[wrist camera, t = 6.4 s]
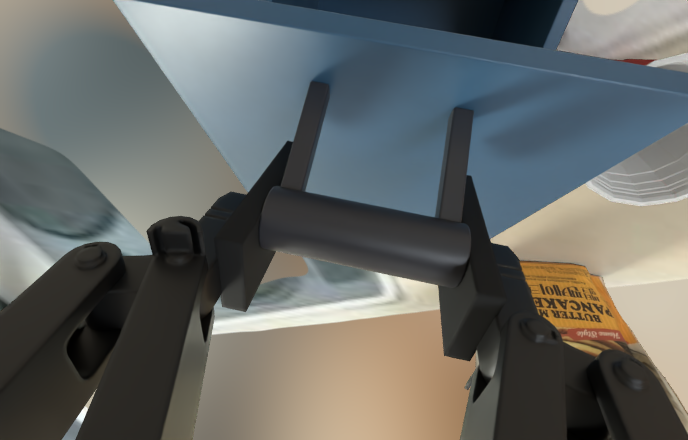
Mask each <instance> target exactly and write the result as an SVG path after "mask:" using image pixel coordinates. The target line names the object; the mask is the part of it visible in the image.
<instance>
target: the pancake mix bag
mask: <svg viewBox="0 0 688 440" xmlns="http://www.w3.org/2000/svg"><path fill="white" fill-rule="evenodd" d="M519 262H520V265H521V267H522V271H523V273H524V275H525V278H526V280H525V281H527V283H528V286H529V289H530V291H531V294H532V297H533V300H534V302H535V305H536V308H537V310H538V313H539V315H540V316H542V317H544V318H546V319H547V320H548V321H550V322H551V323H552V324H553V325H554V326H555V327H556V328H557V330H558V331H559V333H560V334H561V336H562V340H563V342H565V343H567V344H569V345H571V346H573V347H575V348H577V349H579V350H582V351H584V352H586V353H588V354H590V355H592V356H595V357H597V356H598V355H599V354H600V353H601V352H602V351H605V350H607V349H613V350H619V351H622V352H624V353H627V354H629V355H631V356H633V357H634V358H636V359H638V360H639V361H641V362H642V363H643V364H644V365H645V366H646V367H648V368H649V369H650V370H651V371H652V372H653V373H654V375H655V376H656V378H657V379H658V380H659V382H660V383H661V385H662V387H663V389H664V391H665V393H666V394H667V396H668V398H669V400H670V402H671V404H672V405H673V407H674V409H675V411H676V413H677V415H678V416H679V418H680V420H681V422H682V424H683V426H684V428H685V429H686V431H687V433H688V413H687V412H686V410H685V408H684V407H683V405H682V403H681V402H680V400H679V398H678V397H677V395H676V394H675V392H674V391H673V389H672V388H671V386H670V385H669V383H668V382H667V380H666V379H665V377H664V376H663V375H662V374H661V372H660V371H659V370H658V369H657V367H656V366H655V365H654V363H653V362H652V360H651V359H650V357H649V356H648V354H647V353H646V351H645V350H644V349H643V347H642V346H641V344H640V343H639V342H638V340H637V338H636V337H635V335H634V334H633V332H632V330H631V329H630V328H629V327H628V325H627V324H626V323H625V321H624V320H623V319H622V317H621V316H620V314H619V312H618V311H617V309H616V307H615V306H614V303H613V301H612V299H611V297H610V295H609V293H608V291H607V289H606V287H605V284H604V280H603V277H599V276H594V275H590V274H589V272H588V270H587V269H586V267H585V266H580V265H576V264H567V263H551V262H531V261H519ZM478 365H479V360H478V354H477V350H476V368H477V366H478Z"/></svg>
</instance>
